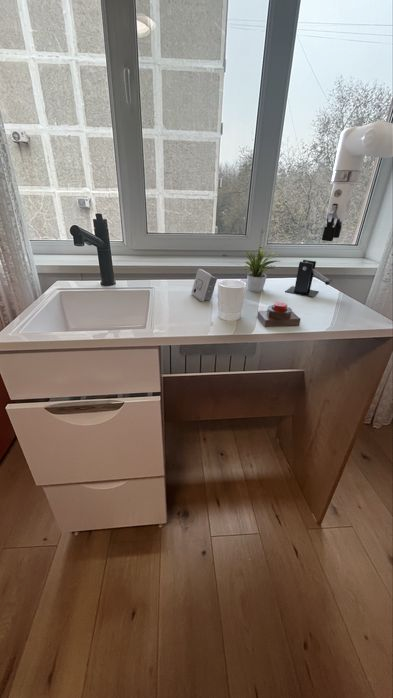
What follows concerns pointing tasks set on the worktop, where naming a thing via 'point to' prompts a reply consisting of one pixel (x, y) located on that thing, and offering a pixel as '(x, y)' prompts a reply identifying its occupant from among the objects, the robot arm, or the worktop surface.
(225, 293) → the white cup
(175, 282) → the worktop surface
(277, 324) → the button block
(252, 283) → the house plant
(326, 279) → the grey lever
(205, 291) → the electrical switch
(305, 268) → the black upright stand
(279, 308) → the button
